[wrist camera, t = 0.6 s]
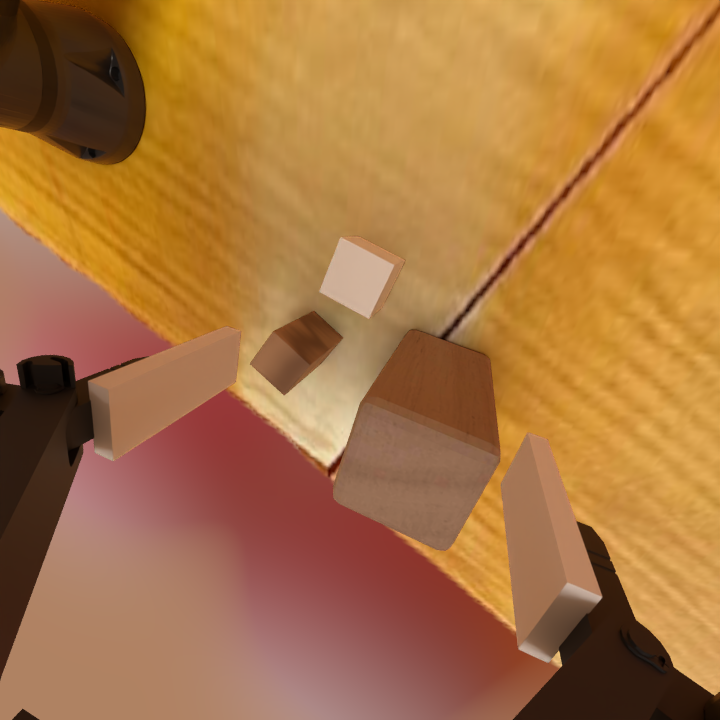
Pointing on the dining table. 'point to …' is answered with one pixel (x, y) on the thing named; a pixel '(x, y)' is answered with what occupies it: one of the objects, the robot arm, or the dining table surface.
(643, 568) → the dining table surface
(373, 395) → the block
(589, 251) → the dining table surface
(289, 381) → the walnut block
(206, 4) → the dining table surface
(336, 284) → the pale pink cube
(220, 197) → the dining table surface
